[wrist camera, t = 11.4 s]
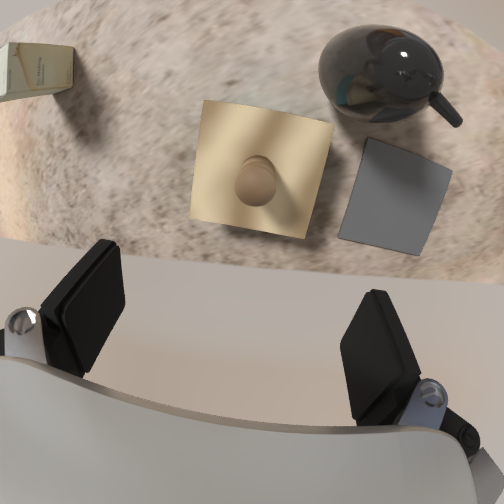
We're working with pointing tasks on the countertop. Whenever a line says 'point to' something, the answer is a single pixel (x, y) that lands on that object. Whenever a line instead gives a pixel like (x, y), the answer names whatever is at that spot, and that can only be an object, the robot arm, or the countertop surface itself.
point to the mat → (394, 199)
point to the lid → (258, 168)
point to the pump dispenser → (383, 75)
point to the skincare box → (34, 70)
